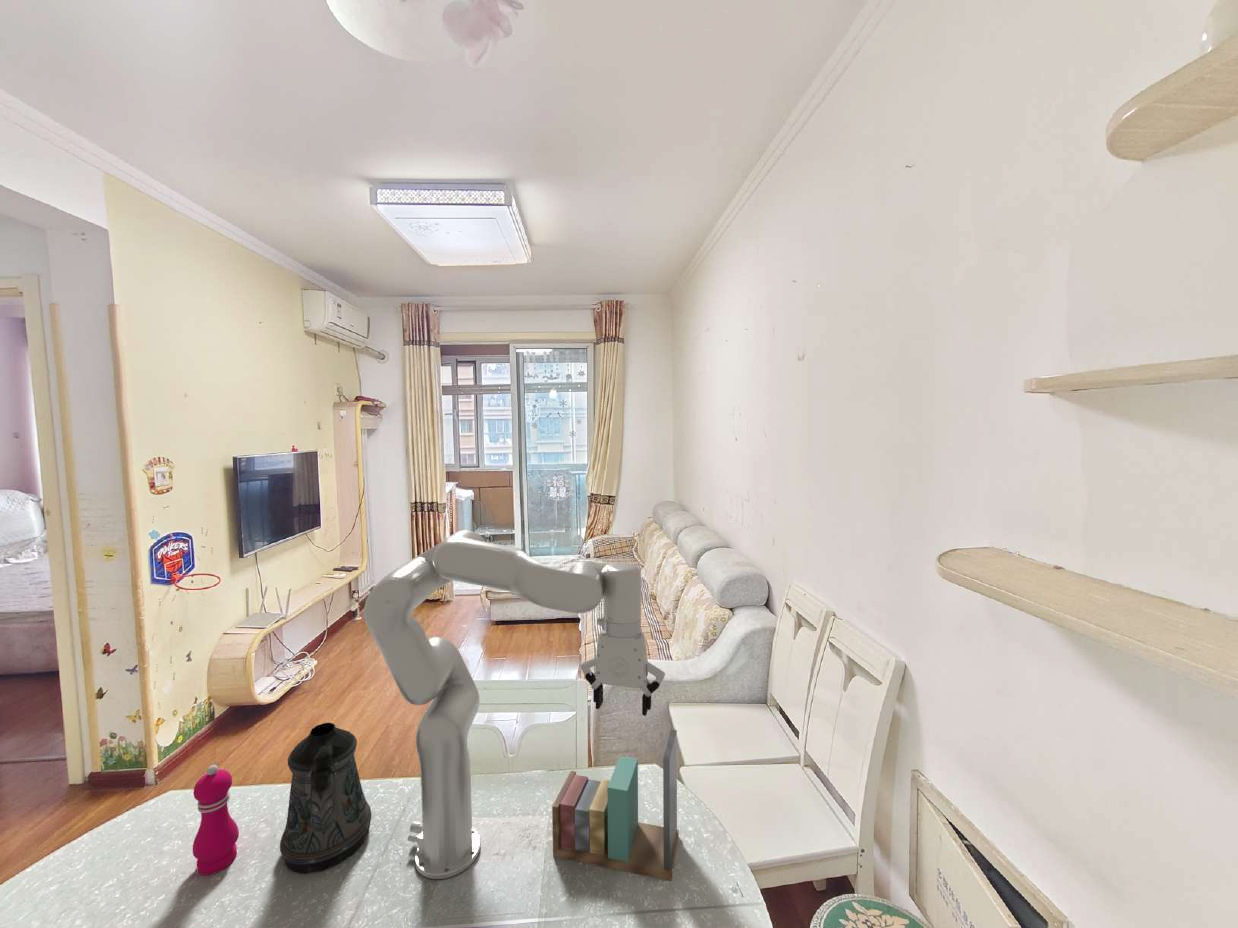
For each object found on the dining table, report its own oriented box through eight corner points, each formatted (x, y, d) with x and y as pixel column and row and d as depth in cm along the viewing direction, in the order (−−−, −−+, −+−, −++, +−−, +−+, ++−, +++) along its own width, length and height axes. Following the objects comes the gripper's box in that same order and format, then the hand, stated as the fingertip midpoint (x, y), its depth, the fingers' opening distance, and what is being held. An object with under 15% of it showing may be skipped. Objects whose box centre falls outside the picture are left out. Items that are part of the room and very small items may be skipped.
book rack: (553, 855, 101) (552, 806, 101) (571, 815, 112) (570, 770, 111) (670, 881, 95) (670, 828, 95) (678, 836, 106) (678, 788, 106)
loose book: (608, 858, 99) (607, 787, 98) (620, 820, 109) (619, 755, 108) (627, 861, 98) (627, 790, 97) (638, 823, 108) (637, 758, 107)
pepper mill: (184, 871, 98) (179, 773, 97) (224, 843, 105) (219, 751, 104) (209, 882, 96) (203, 781, 95) (248, 852, 103) (243, 758, 102)
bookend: (663, 868, 96) (663, 759, 95) (671, 828, 106) (671, 729, 105) (669, 869, 96) (669, 760, 95) (676, 829, 106) (676, 729, 104)
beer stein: (347, 802, 117) (343, 697, 116) (395, 839, 106) (391, 724, 105) (266, 850, 103) (260, 733, 102) (311, 899, 92) (305, 768, 91)
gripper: (575, 628, 99) (575, 712, 100) (661, 637, 95) (661, 725, 96) (587, 615, 107) (587, 694, 108) (667, 623, 102) (667, 704, 103)
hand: (622, 708), depth 102 cm, fingers open, 9 cm apart
